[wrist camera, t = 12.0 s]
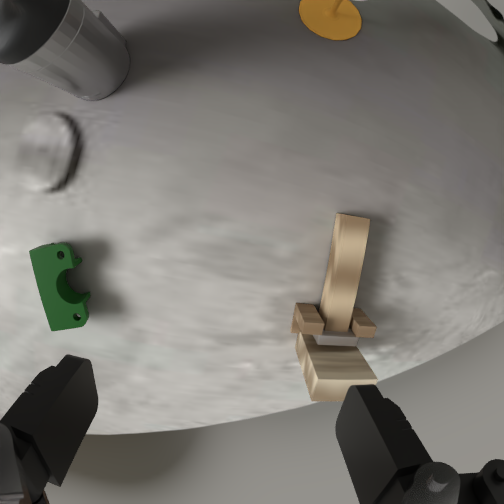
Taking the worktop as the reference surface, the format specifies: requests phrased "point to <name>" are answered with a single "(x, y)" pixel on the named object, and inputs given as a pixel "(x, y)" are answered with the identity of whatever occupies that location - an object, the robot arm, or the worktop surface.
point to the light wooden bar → (342, 280)
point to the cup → (331, 18)
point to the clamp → (58, 286)
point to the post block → (330, 355)
